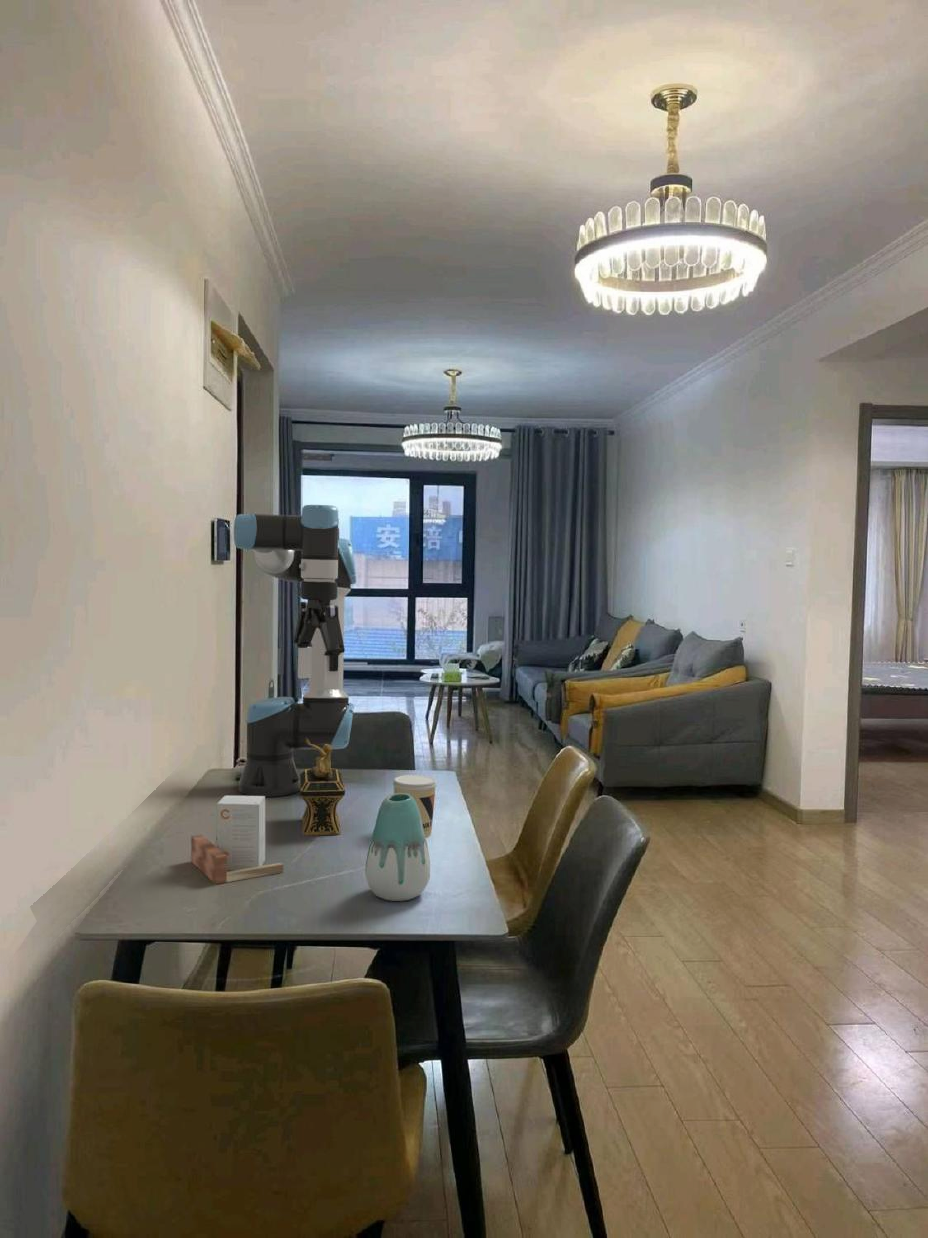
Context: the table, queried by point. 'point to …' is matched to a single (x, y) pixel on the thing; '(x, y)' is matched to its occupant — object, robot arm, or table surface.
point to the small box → (241, 831)
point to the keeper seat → (223, 863)
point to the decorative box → (321, 795)
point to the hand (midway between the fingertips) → (317, 682)
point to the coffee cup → (419, 796)
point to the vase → (398, 851)
